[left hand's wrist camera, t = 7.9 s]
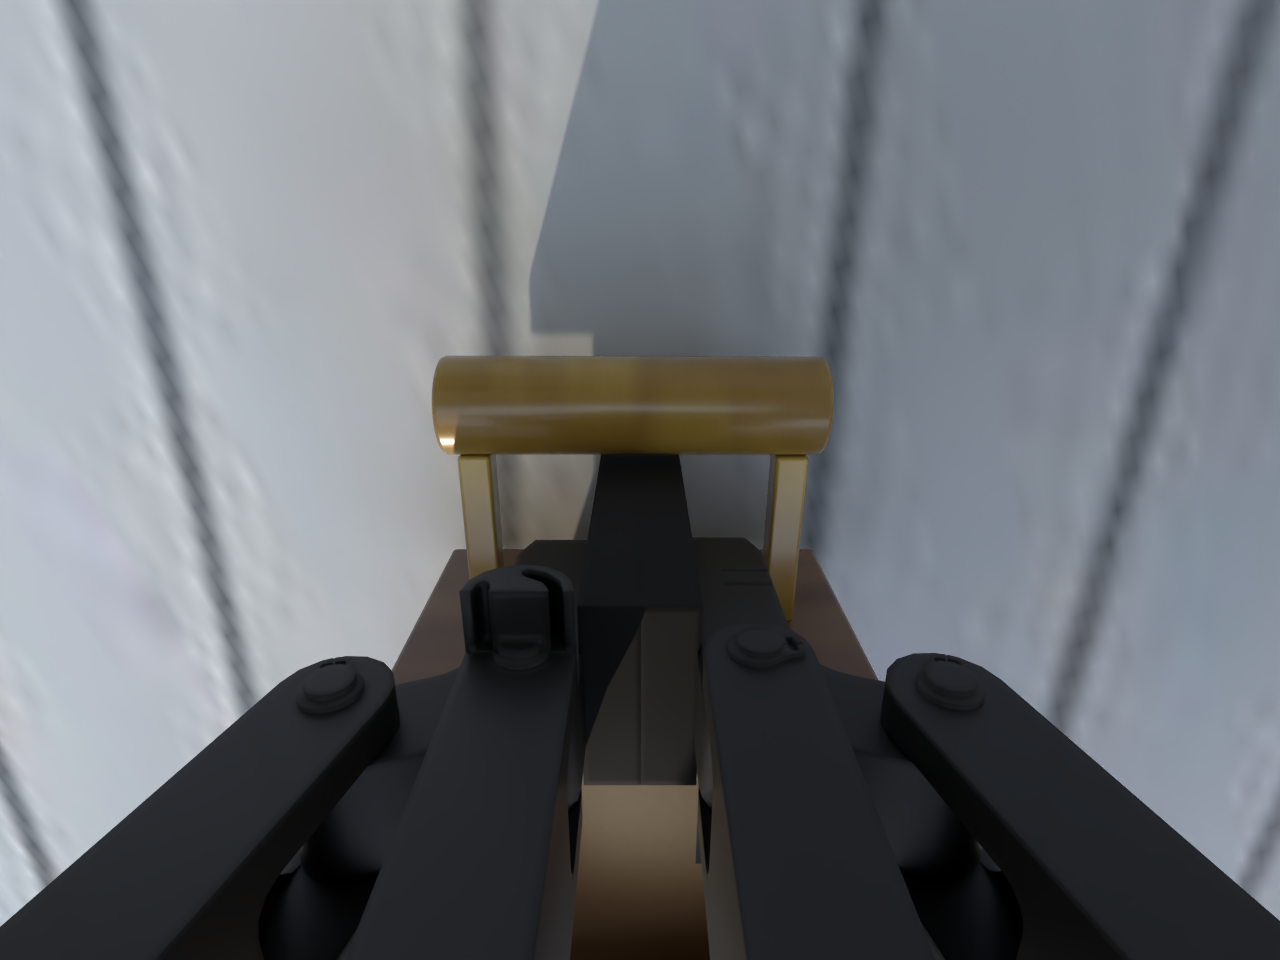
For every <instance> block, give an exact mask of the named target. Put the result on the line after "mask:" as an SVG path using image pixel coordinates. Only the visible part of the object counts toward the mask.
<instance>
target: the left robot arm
mask: <svg viewBox="0 0 1280 960" xmlns="http://www.w3.org/2000/svg"><path fill="white" fill-rule="evenodd" d="M459 594H460V604H461V613H462V622H463V631H464V641H465V650H466V652H465V655H464V658H463V660H462V663H461V665H460V667H459V668H456V669H454V670H452V671H450V672H447V673H445V674H441V675H437V676H434V677H430V678H426V679H421V680H416V681H412V682H407V683H402V684H397V685H395V681H394V675H393V672H392V671H391V670H390V668H389V667H388V666H387V665H386V664H385V663H384V662H381V661H378V660H375V659H372V658H369V657H355V656H344V657H337V658H334V659H333V658H331V659H327V660H323V661H320V662H318V663H315V664H313V665H310V666H308V667H305V668H303V669H300V670H298V671H297V672H295V673H294V674H292V675H291V676H289V677H288V678H286V679H285V680H283V681H282V682H280V683H279V684H278V685H277V686H276V687H275V688H273V689H272V690H271V691H270V692H269V693H268V694H267V695H265V696H264V697H263V698H262V699H261V700H260V701H259V702H257V703H256V704H255V705H254V706H253V707H252V708H251V709H249V710H248V711H247V712H246V713H245V714H244V715H243V716H241V717H240V718H239V719H238V720H237V721H236V722H235V723H233V724H232V725H231V726H230V727H229V728H228V729H226V730H225V731H224V732H223V733H222V734H221V735H220V736H218V737H217V738H216V739H215V740H214V741H213V742H212V743H210V744H209V745H208V746H207V747H206V748H205V749H204V750H202V751H201V752H200V753H199V754H198V755H197V756H196V757H194V758H193V759H192V760H191V761H190V762H189V763H188V764H186V765H185V766H184V767H183V768H182V769H181V770H180V771H178V772H177V773H176V774H175V775H174V776H173V777H172V778H170V779H169V780H168V781H167V782H166V783H165V784H163V785H162V786H161V787H160V788H159V789H158V790H157V791H155V792H154V793H153V794H152V795H151V796H150V797H149V798H147V799H146V800H145V801H144V802H143V803H142V804H141V805H139V806H138V807H137V808H136V809H135V810H134V811H133V812H131V813H130V814H129V815H128V816H127V817H126V818H125V819H123V820H122V821H121V822H120V823H119V824H118V825H117V826H115V827H114V828H113V829H112V830H111V831H110V832H108V833H107V834H106V835H105V836H104V837H103V838H102V839H100V840H99V841H98V842H97V843H96V844H95V845H94V846H92V847H91V848H90V849H89V850H88V851H87V852H86V853H84V854H83V855H82V856H81V857H80V858H79V859H78V860H76V861H75V862H74V863H73V864H72V865H71V866H70V867H68V868H67V869H66V870H65V871H64V872H63V873H62V874H60V875H59V876H58V877H57V878H56V879H55V880H53V881H52V882H51V883H50V884H49V885H48V886H47V887H45V888H44V889H43V890H42V891H41V892H40V893H39V894H37V895H36V896H35V897H34V898H33V899H32V900H31V901H29V902H28V903H27V904H26V905H25V906H24V907H23V908H21V909H20V910H19V911H18V912H17V913H16V914H15V915H13V916H12V917H11V918H10V919H9V920H8V921H7V922H5V923H4V924H3V925H2V926H1V927H0V960H570V953H571V942H572V931H573V920H574V909H575V899H576V888H577V877H578V866H579V855H580V844H581V833H582V822H583V812H582V779H583V778H584V785H696V778H697V775H698V785H699V786H698V812H697V837H696V863H695V864H701V865H702V876H703V887H704V898H705V908H706V919H707V930H708V941H709V952H710V960H1280V921H1279V920H1278V919H1277V918H1276V917H1274V916H1273V915H1272V914H1271V913H1270V912H1269V911H1268V910H1266V909H1265V908H1264V907H1263V906H1262V905H1261V904H1259V903H1258V902H1257V901H1256V900H1255V899H1254V898H1253V897H1251V896H1250V895H1249V894H1248V893H1247V892H1246V891H1244V890H1243V889H1242V888H1241V887H1240V886H1239V885H1238V884H1236V883H1235V882H1234V881H1233V880H1232V879H1231V878H1229V877H1228V876H1227V875H1226V874H1225V873H1224V872H1222V871H1221V870H1220V869H1219V868H1218V867H1217V866H1216V865H1214V864H1213V863H1212V862H1211V861H1210V860H1209V859H1207V858H1206V857H1205V856H1204V855H1203V854H1202V853H1201V852H1199V851H1198V850H1197V849H1196V848H1195V847H1194V846H1192V845H1191V844H1190V843H1189V842H1188V841H1187V840H1186V839H1184V838H1183V837H1182V836H1181V835H1180V834H1179V833H1177V832H1176V831H1175V830H1174V829H1173V828H1172V827H1171V826H1169V825H1168V824H1167V823H1166V822H1165V821H1164V820H1162V819H1161V818H1160V817H1159V816H1158V815H1157V814H1155V813H1154V812H1153V811H1152V810H1151V809H1150V808H1149V807H1147V806H1146V805H1145V804H1144V803H1143V802H1142V801H1140V800H1139V799H1138V798H1137V797H1136V796H1135V795H1134V794H1132V793H1131V792H1130V791H1129V790H1128V789H1127V788H1125V787H1124V786H1123V785H1122V784H1121V783H1120V782H1119V781H1117V780H1116V779H1115V778H1114V777H1113V776H1112V775H1110V774H1109V773H1108V772H1107V771H1106V770H1105V769H1104V768H1102V767H1101V766H1100V765H1099V764H1098V763H1097V762H1095V761H1094V760H1093V759H1092V758H1091V757H1090V756H1088V755H1087V754H1086V753H1085V752H1084V751H1083V750H1082V749H1080V748H1079V747H1078V746H1077V745H1076V744H1075V743H1073V742H1072V741H1071V740H1070V739H1069V738H1068V737H1067V736H1065V735H1064V734H1063V733H1062V732H1061V731H1060V730H1058V729H1057V728H1056V727H1055V726H1054V725H1053V724H1052V723H1050V722H1049V721H1048V720H1047V719H1046V718H1045V717H1043V716H1042V715H1041V714H1040V713H1039V712H1038V711H1037V710H1035V709H1034V708H1033V707H1032V706H1031V705H1030V704H1028V703H1027V702H1026V701H1025V700H1024V699H1023V698H1021V697H1020V696H1019V695H1018V694H1017V693H1016V692H1015V691H1013V690H1012V689H1011V688H1010V687H1009V686H1008V685H1006V684H1005V683H1004V682H1003V681H1002V680H1001V679H999V678H998V677H996V676H995V675H993V674H992V673H990V672H989V671H987V670H986V669H984V668H983V667H981V666H978V665H976V664H973V663H971V662H968V661H966V660H963V659H961V658H958V657H954V656H950V655H948V656H947V655H945V654H937V653H920V654H911V655H908V656H905V657H902V658H899V659H897V660H896V661H895V662H894V663H893V664H892V665H891V666H890V667H889V668H888V669H887V675H886V681H885V682H883V681H878V680H873V679H868V678H864V677H859V676H854V675H850V674H846V673H843V672H839V671H835V670H833V669H831V668H828V667H826V666H824V665H821V664H819V662H818V659H817V657H816V654H815V651H814V650H813V649H812V647H811V646H810V644H809V643H808V642H807V640H806V639H805V638H803V637H802V636H800V635H799V634H797V633H795V632H794V631H792V630H791V629H789V627H788V624H787V621H786V618H785V615H784V613H783V610H782V607H781V604H780V601H779V599H778V596H777V593H776V590H775V587H774V586H773V582H772V579H771V576H770V573H769V572H768V568H767V565H766V562H765V559H764V557H763V554H762V552H761V551H760V550H759V549H758V548H756V547H755V546H754V545H753V544H751V543H750V542H749V541H748V540H746V539H745V538H692V534H691V528H690V522H689V516H688V509H687V503H686V497H685V490H684V484H683V478H682V472H681V465H680V459H679V455H674V454H601V459H600V465H599V472H598V478H597V484H596V490H595V497H594V503H593V509H592V516H591V522H590V528H589V534H588V540H535V541H534V542H533V543H532V544H530V545H529V546H528V547H527V548H525V549H524V550H523V551H522V552H521V553H519V554H518V557H517V559H516V562H515V565H512V566H503V567H500V568H496V569H493V570H489V571H486V572H483V573H481V574H480V575H478V576H476V577H474V578H472V579H471V580H469V581H468V582H467V583H466V584H465V585H464V587H463V588H462V589H461V590H460V591H459Z"/></svg>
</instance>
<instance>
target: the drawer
mask: <svg viewBox="0 0 1280 960" xmlns="http://www.w3.org/2000/svg"><path fill="white" fill-rule="evenodd" d="M833 411H834V391H833V382H832V376H831V372H830V368H829V366H828V363H827V361H826V360H825V359H823V358H821V357H715V356H445V357H443V358H441V359H440V360H439V362H438V364H437V367H436V370H435V374H434V379H433V387H432V415H433V423H434V429H435V433H436V437H437V440H438V443H439V445H440V447H441V449H442V450H443V451H444V452H445V453H448V454H460V456H459V457H458V468H459V478H460V488H461V498H462V508H463V518H464V528H465V538H466V548H467V549H457V550H454V551H453V553H452V555H451V557H450V559H449V561H448V563H447V565H446V567H445V569H444V571H443V573H442V575H441V576H440V578H439V580H438V582H437V584H436V586H435V588H434V590H433V592H432V594H431V596H430V598H429V600H428V602H427V603H426V605H425V607H424V609H423V611H422V613H421V615H420V617H419V619H418V621H417V623H416V625H415V627H414V629H413V630H412V632H411V634H410V636H409V638H408V640H407V642H406V644H405V646H404V648H403V650H402V652H401V654H400V656H399V657H398V659H397V661H396V663H395V665H394V667H393V669H392V672H393V675H394V681H395V685H397V684H402V683H407V682H412V681H416V680H421V679H426V678H430V677H434V676H437V675H441V674H445V673H447V672H450V671H452V670H454V669H456V668H459V667H460V665H461V663H462V660H463V658H464V655H465V652H466V650H465V641H464V631H463V622H462V613H461V604H460V594H459V591H460V590H461V589H462V588H463V587H464V585H465V584H466V583H467V582H468V581H469V580H471V579H472V578H474V577H476V576H478V575H480V574H481V573H483V572H486V571H489V570H493V569H496V568H500V567H503V566H512V565H515V562H516V559H517V557H518V554H519V553H521V552H522V551H523V550H524V549H503V545H502V532H501V519H500V506H499V493H498V480H497V467H496V454H674V455H771V458H770V471H769V483H768V496H767V509H766V522H765V534H764V547H763V549H759V550H760V551H761V552H762V554H763V557H764V559H765V562H766V565H767V568H768V572H769V573H770V576H771V579H772V582H773V586H774V587H775V590H776V593H777V596H778V599H779V601H780V604H781V607H782V610H783V613H784V615H785V618H786V621H787V624H788V627H789V629H791V630H792V631H794V632H795V633H797V634H799V635H800V636H802V637H803V638H805V639H806V640H807V642H808V643H809V644H810V646H811V647H812V649H813V650H814V651H815V654H816V657H817V659H818V662H819V664H821V665H824V666H826V667H828V668H831V669H833V670H835V671H839V672H843V673H846V674H850V675H854V676H859V677H864V678H868V679H873V680H878V679H877V677H876V675H875V673H874V671H873V669H872V667H871V665H870V663H869V661H868V659H867V657H866V655H865V653H864V651H863V649H862V647H861V645H860V643H859V641H858V639H857V638H856V636H855V634H854V632H853V630H852V628H851V626H850V624H849V622H848V620H847V618H846V616H845V614H844V612H843V610H842V608H841V606H840V604H839V602H838V600H837V598H836V596H835V594H834V593H833V591H832V589H831V587H830V585H829V583H828V581H827V579H826V577H825V575H824V573H823V571H822V569H821V567H820V565H819V563H818V561H817V559H816V557H815V555H814V553H813V551H812V550H809V549H799V547H800V537H801V527H802V517H803V507H804V497H805V487H806V477H807V467H808V458H807V456H806V455H817V454H819V453H822V452H823V451H824V449H825V447H826V445H827V443H828V440H829V436H830V433H831V428H832V421H833ZM698 786H699V785H698V775H697V778H696V785H584V778H583V779H582V812H583V822H582V833H581V844H580V855H579V866H578V877H577V888H576V899H575V909H574V920H573V931H572V942H571V953H570V960H710V952H709V941H708V930H707V919H706V908H705V898H704V887H703V876H702V865H701V864H695V863H696V837H697V812H698Z"/></svg>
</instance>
